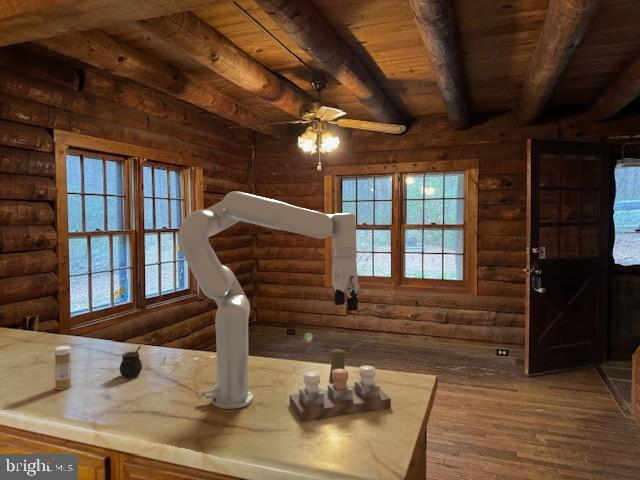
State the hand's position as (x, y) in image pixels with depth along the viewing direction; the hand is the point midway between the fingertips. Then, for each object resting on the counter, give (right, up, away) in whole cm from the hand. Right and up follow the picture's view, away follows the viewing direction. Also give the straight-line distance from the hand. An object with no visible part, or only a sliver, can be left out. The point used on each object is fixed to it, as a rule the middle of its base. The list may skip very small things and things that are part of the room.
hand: (346, 307), depth 134 cm
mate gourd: (-75, -27, +18) cm, 82 cm away
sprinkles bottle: (-92, -28, +6) cm, 96 cm away
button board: (-2, -29, -5) cm, 30 cm away
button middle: (-2, -23, -5) cm, 24 cm away
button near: (-11, -23, -8) cm, 27 cm away
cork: (-2, -28, +15) cm, 32 cm away
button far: (+6, -23, -2) cm, 24 cm away
